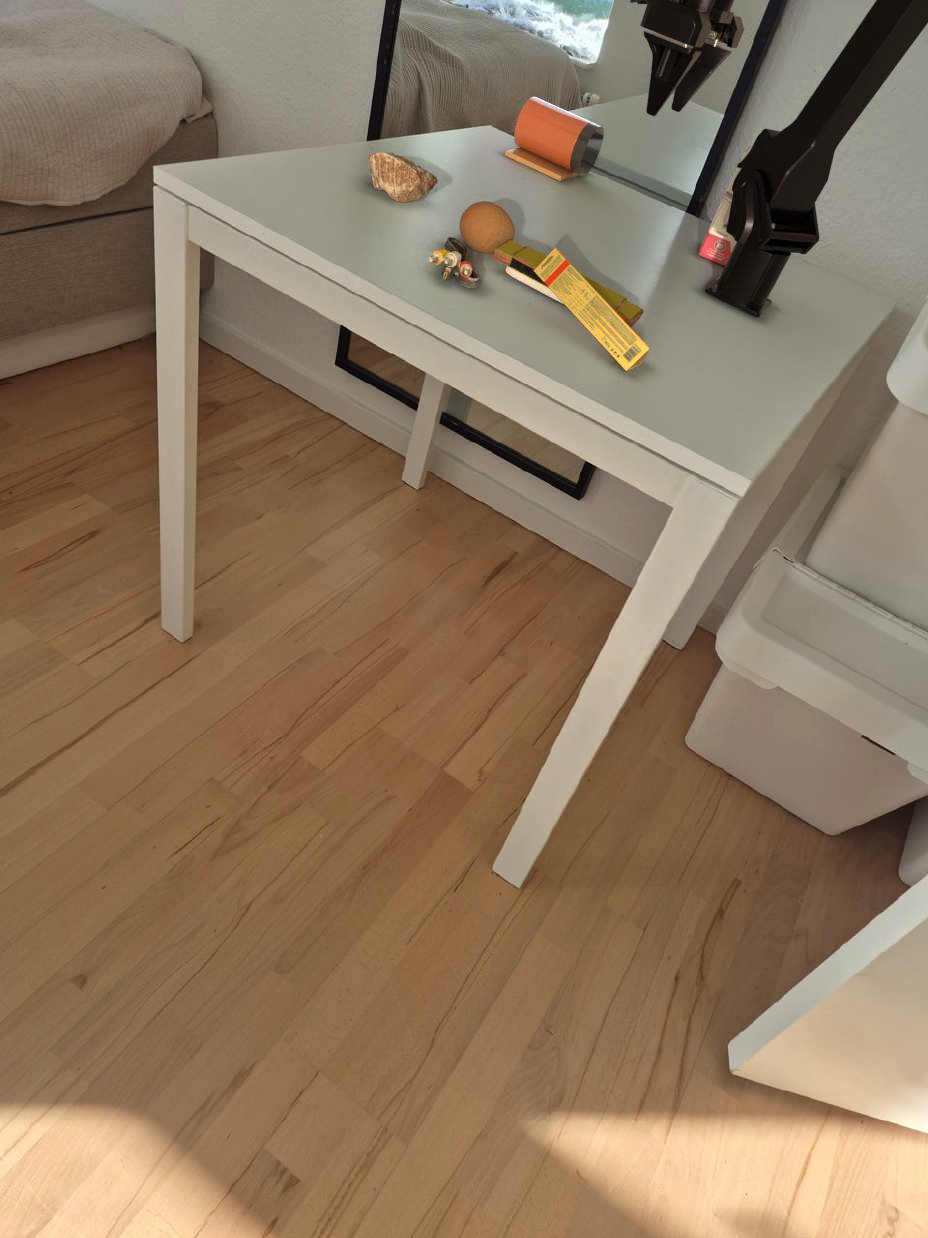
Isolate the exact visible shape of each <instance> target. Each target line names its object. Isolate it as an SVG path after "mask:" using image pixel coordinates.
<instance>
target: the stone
mask: <svg viewBox="0 0 928 1238" xmlns="http://www.w3.org/2000/svg"><path fill="white" fill-rule="evenodd" d="M367 160H368V164H369V170H370V174H371V179H372V184H373V188H374V189H375V190H378V191H385V192H386V194H387V195H388V196H389V197H390V198H391V199H392V200H395V201H396V202H400V203H410V202H413V201H416V200H420V199H422V198H424V197H425V196H426V195H427V194H428V193H429V192H430V191H431V190H433V189H434V188H435V186H436V185H437V184H438V181H439V179H438V177H437V176H436V175H435V174H433V173H432V172H430V171H428V170H427V169H424V168H423V167H422V166H421V165H417V164H416V163H415V162H413V161H412V160H410V159H408V158H406V157H405V156H402V155H399V154H395V153H393V152H389V151H379V152H375V153H372V154H370V155H368V156H367Z"/></svg>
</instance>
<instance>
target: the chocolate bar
mask: <svg viewBox="0 0 928 1238" xmlns="http://www.w3.org/2000/svg"><path fill="white" fill-rule="evenodd" d="M546 256H547V257H546V258H545V259H544V260H543V261H542V262H541V263H540V264H539V265H538V266H537V267H536V268H535V269H534V272H535V273H536V274H537V276H538V277H539V278H540V279H541V280H542V281H543V282H544V283H545V284H546V285H547V286H548V287H549V288H550V290H551V291H552V292H553V293H554V294H555V295H556V296H557V297H558V298H559V299H560V300H561V301H562V303H563V304H562V303H561V304H562V305H563V306H565V307H566V309H568V310H569V311H570V312H571V314H572V315H573V316H574V317H575V318H576V319H577V320H578V321H579V322H580V323H581V325H583V327H584V328H585V329H586V330H587V331H588V332H589V333H590V334H591V335H592V336H593V337H594V339H595V340H596V341H598V343H599V344H600V345H601V346H602V347H603V348H604V349H605V351H606V352H607V353H608V354H609V355H610V356H611V357H612V358H613V359H614V360H615V361H616V363H618V365H620V367H622V369H623V370H624V371H625V372H629V371H631V370H633V369H636V368H638V367H640V366H642V364H643V362H644V360H645V359H646V357H647V355H648V353H649V352H650V350H651V348H650V346H649V345H648V344H647V343H646V342H645V341H644V340H643V338H641V337H640V336H639V335H638V333H636V332H635V330H633V329H632V327H631V328H630V327H629V325H628V324H627V323H626V322H625V321H624V320H623V319H622V318H621V317H620V316H619V315H618V314H617V313H616V312H615V310H614V309H613V308H612V307H611V306H610V305H609V304H608V303H607V302H606V301H605V300H604V299H603V298H602V297H601V295H600V294H599V293H598V292H597V291H596V290H595V289H594V288H593V287H592V286H591V285H590V284H589V283H588V282H587V280H586V279H585V278H584V277H583V276H582V275H583V274H582V273H580V272H579V271H578V270H577V269H576V268H575V266H574V265H572V263H571V262H570V261H569V260H568V259H567V258H566V257H565V255H563V254H562V252H561V251H559V249H558V248H557V247H555V248H553V249H552V250H551V251H550V252H549V253H548V254H547V255H546ZM581 274H582V275H581Z"/></svg>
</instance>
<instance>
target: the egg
mask: <svg viewBox="0 0 928 1238" xmlns="http://www.w3.org/2000/svg"><path fill="white" fill-rule="evenodd" d="M459 232H460V236H461V238H462V240H463V241H464V244H465V245H466V246H467V247H469V248H470V249H471V250H473V251H475V252H477V253H480V254H494V251H495V248H497V247H498V246H500V245H501V244H503V243H505V242H506V241H508V240H511V241H514V239H515V235H516V229H515V224H514V223H513V220H512V218H511V216H510V215H509V214H508V212H506V211H505V209H504V208H503V207H501V206H500V205H498V204H497V203H494V202H492V201H485V200H481V201H477V202H474V203H472V204H470V205H469V206H468V207H466V209H465V210H464V211H463V212H462V213H461V216H460V219H459Z"/></svg>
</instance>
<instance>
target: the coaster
mask: <svg viewBox="0 0 928 1238" xmlns="http://www.w3.org/2000/svg"><path fill="white" fill-rule="evenodd" d="M504 156H505V157H508V158H509V159H511V160H514V161H516V162H518V163H520V164H523V165H524V166H527V167H530V168H531V169H533V170H535V171H537V172H540V173H542V174H544V175H546V176H547V177H550V178H552V179H555V180H556V181H559V182H561V181H564V180H569V179H571V178H574V177H577V176H579V175H578V174H576V173H574V172H571V171H569V170H567V169H565V168H563V167H561V166H558V165H556V164H554V163H552V162H550V161H548V160H546V159H543V158H541V157H539V156H537V155H535V154H533V153H530V152H528V151H526V150H524V149H522V148H520V147H517V148H512V149H507V150H505V153H504Z"/></svg>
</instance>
